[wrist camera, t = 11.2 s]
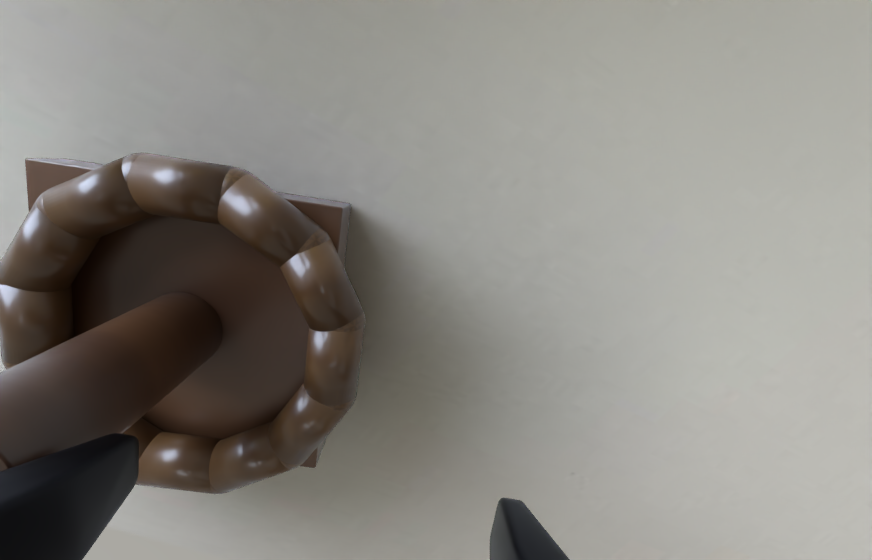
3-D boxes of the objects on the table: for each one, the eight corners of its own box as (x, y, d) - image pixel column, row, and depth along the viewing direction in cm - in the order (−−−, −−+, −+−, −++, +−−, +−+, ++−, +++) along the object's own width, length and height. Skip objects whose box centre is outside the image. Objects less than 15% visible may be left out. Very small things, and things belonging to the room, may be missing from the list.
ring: (347, 484, 15) (337, 520, 14) (43, 448, 15) (-3, 480, 13) (384, 188, 13) (378, 191, 11) (20, 131, 12) (-41, 125, 11)
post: (325, 442, 16) (221, 718, 8) (79, 410, 16) (-295, 670, 8) (351, 203, 14) (245, 252, 6) (66, 158, 14) (-476, 144, 5)
